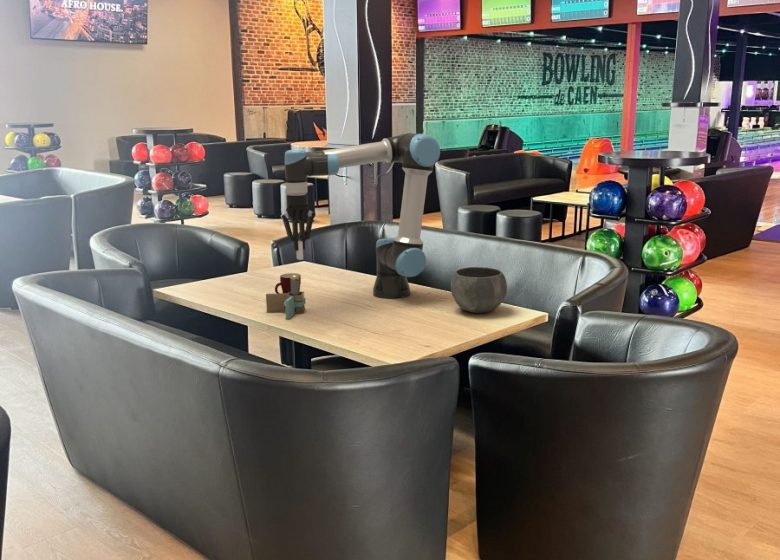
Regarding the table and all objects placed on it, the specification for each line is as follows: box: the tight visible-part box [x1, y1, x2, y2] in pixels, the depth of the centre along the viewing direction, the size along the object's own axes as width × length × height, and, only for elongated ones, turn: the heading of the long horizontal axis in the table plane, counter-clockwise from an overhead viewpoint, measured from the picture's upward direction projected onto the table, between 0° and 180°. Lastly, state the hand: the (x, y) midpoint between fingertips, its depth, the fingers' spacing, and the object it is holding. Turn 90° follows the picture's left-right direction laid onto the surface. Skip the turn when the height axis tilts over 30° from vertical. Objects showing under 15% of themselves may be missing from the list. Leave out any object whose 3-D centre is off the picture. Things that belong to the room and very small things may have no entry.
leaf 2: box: [284, 296, 307, 320], centre depth 287 cm, size 14×6×7 cm, turn 170°
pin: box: [290, 273, 301, 308], centre depth 290 cm, size 3×3×14 cm
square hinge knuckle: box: [265, 291, 306, 315], centre depth 290 cm, size 14×6×7 cm, turn 90°
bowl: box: [450, 266, 508, 314], centre depth 286 cm, size 20×20×15 cm
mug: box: [274, 272, 302, 294], centre depth 307 cm, size 10×8×10 cm
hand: (300, 258), depth 280 cm, fingers closed
